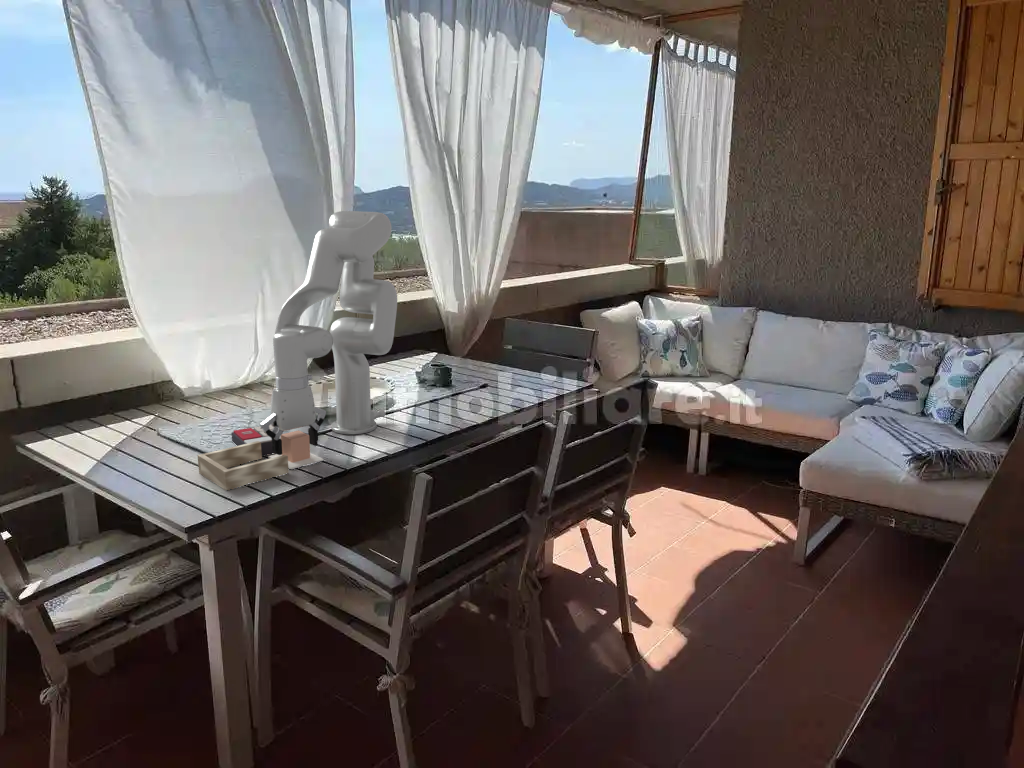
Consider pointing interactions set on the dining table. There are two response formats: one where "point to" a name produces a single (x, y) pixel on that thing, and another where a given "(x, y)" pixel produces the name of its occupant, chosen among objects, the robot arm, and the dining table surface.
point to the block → (296, 446)
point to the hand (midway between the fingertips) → (295, 449)
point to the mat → (293, 465)
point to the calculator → (254, 438)
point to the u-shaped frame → (219, 461)
